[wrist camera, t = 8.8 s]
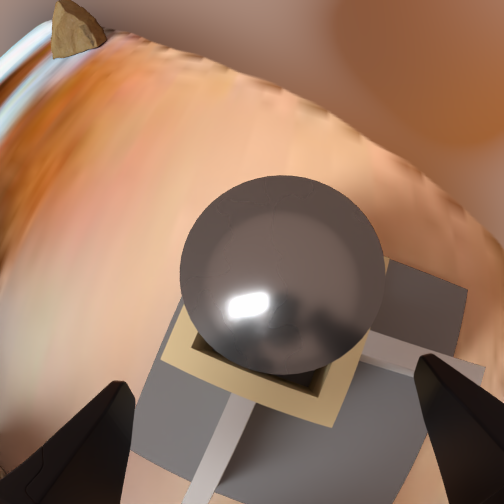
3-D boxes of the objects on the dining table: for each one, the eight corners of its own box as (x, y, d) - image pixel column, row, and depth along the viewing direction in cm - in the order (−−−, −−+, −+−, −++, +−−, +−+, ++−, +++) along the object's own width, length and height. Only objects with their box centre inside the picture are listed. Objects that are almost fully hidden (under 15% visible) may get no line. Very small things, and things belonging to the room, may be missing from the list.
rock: (121, 20, 33) (97, 7, 34) (76, 6, 25) (58, -4, 27) (87, 80, 38) (68, 59, 39) (42, 74, 30) (29, 54, 32)
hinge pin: (301, 373, 18) (344, 404, 6) (226, 343, 19) (146, 321, 7) (329, 299, 19) (403, 214, 8) (257, 272, 20) (230, 154, 8)
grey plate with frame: (370, 526, 14) (393, 566, 9) (127, 441, 18) (82, 461, 12) (461, 292, 19) (507, 270, 14) (227, 208, 23) (211, 162, 17)
